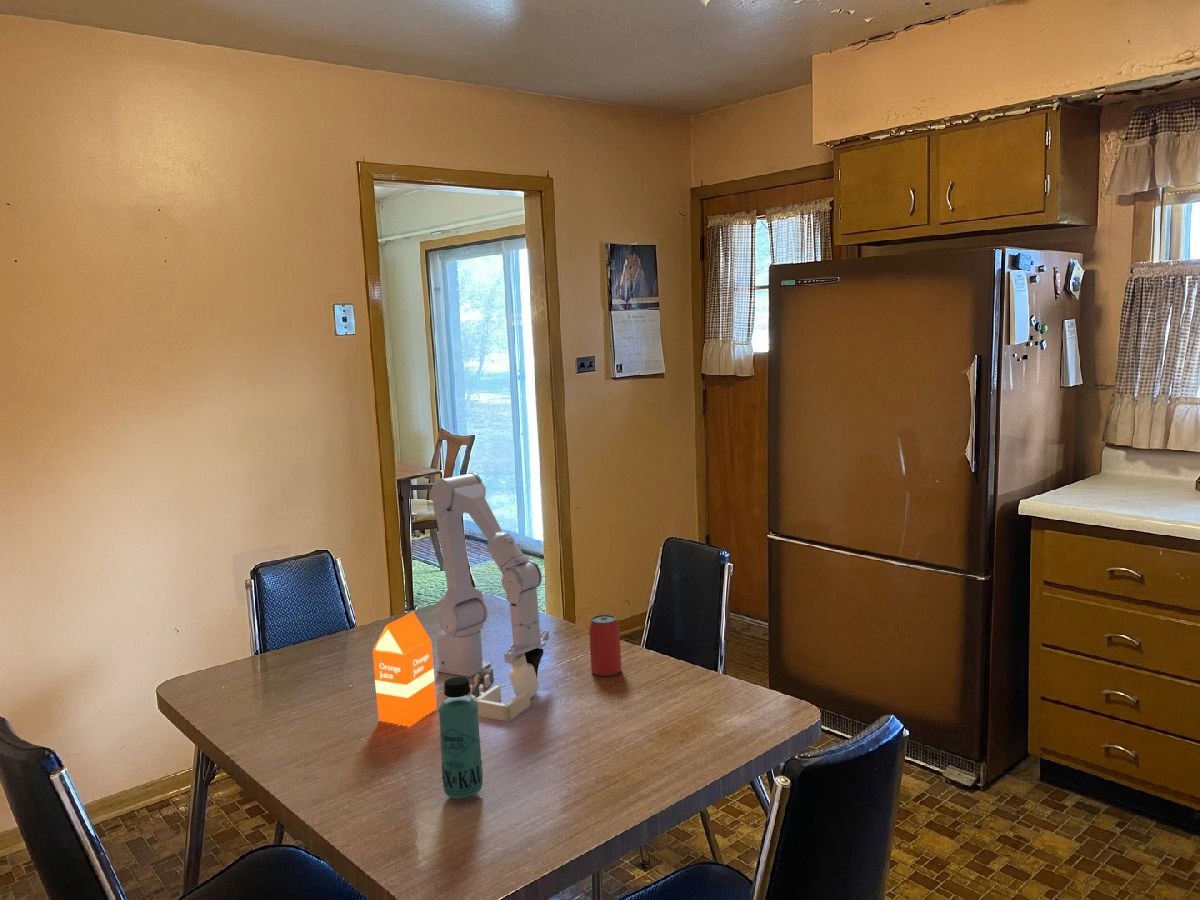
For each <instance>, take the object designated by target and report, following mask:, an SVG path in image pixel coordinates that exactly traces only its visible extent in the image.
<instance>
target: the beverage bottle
mask: <svg viewBox="0 0 1200 900" xmlns="http://www.w3.org/2000/svg"><path fill="white" fill-rule="evenodd" d="M470 685H471V684H470V680H469V677H467V676H461V675H456V676H453V677H449V678H447V679H445V680H444V685H443V686H444V689H443V691H444V693H443V694H444V696H445V697H447V698H446V699H445V700H443V701H442V702H441V703H440V705H439V706H438V715H439V732H440V733H439V739H440V747H439V749H440V755H441V756H440V757H441V758H440V760H441V774H442V775H441V776H442V778H441V781H442V785H443V791H444V794H446V795H447V796H448V797H450V798H453V799H465V798H470V797H472V796H474V795H476V794H478V793H479V792H480V791H481V790H482V787H483V783H484V780H483V779H484V775H483V774H484V773H483V766H482V764H483V761H482V751H481V750H482V748H481V739H480V726H479V716H478V704H477V702H476V701H475V700H473V699H472V698H470V697H469V696H468V695H469V693H470V691H471V690H470Z"/></svg>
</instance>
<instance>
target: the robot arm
mask: <svg viewBox="0 0 1200 900" xmlns="http://www.w3.org/2000/svg"><path fill="white" fill-rule="evenodd" d="M433 483H434V484H432V487H431V488H430V494H431V499H432V507H433V512H434V513H433V514H434V515H435V517H436V522H437V529H438V536H439V540H440V541H439V542H440V543H439V544H440V548H441V555H442V560H443V561H442V562H443V567H444V573H445V574H444V575H445V580H446V586H447V590H446V591H445V592H444V593H443V595H442V596H441V598H440V599H439V600H438V605H439V608H438V609H439V611H438V616H437V618H438V624H439V626H440V628H441V631H440V632H439V634H438V637H437V644H436V645H437V646H436V647H437V657H438V668H437V669H436V672H438V673H446V674H449V673H450V675H456V676H462V677H466V678H472V677H475V675H476V674H478V672H479V670H480V669H481V668H489V667H490V666H491V665H492V663H491V662H489V661H486V660H485V661H484V660H483V659H484V658H483V647H482V635H481V634H482V633H481V632H482V631H481V630H482V629H484V624H485V622H486V621H487V619H488V607H487V604H486V603H485V600H484V597H483V593H482V591H481V590H480V589H478V588H475V587H474V586H473V584H472V578H471V577H472V576H471V571H470V566H469V559H468V552H467V546H466V539H465V533H464V526H463V521H462V517H463V516H464V514H465V513H466V514H468V515H469V516H470V517H471V518H470V519H472V520H473V522H474V523H475V525H476V526H477V527H478V528H479V530H480V531H481V532H482V534H483V535H484V536H485V538H486V539H487V548H486V549H487V551H488V552H489V555H490V556H491V558H492V559H493V561H494V563H495V564H496V566H497V567H498V569H499V571H500V572H501V574H502V578H501V582H500V583H501V585H502V587H503V590H504V592H505V594H506V599H507V602H508V603H509V608H510V609H509V610H510V621H511V632H512V642H511V644H510V646H509V648H508V649H507V651H506V652H504V653H503V655H504V662H505V663H506V664H511V663H515V662H516V661H515V658H516V657H517V655H520V654H523V653H524V654H525V657H526V660H527V663H530V664H532V665H533V667H534V670H535V673H536V677H537V678H538V672H539V667H540V666H539V665H540V663H541V660H542V657H543V655H544V649H543V648H544V647H546V645H547V644H546V641H549V640H550V631H549V630H547V629H541V626H540V616H539V615H540V613H539V604H538V603H539V602H538V590H537V588H539V587H540V586H541V583H542V580H543V579H542V577H543V576H542V571H541V569H540V567H539V565H538V564H537V563H536V561H534V560H532V559H531V558H529V557H528V556H525V554H524V553H523V551H522V550H521V549H520V547H519V545H518V544H517V543H516V542H517V541H515V539H514V537H513V536H512V534H511V533H509V532H504V531H503V530H502V527H501V526H500V524H499V522H498V521H497V518H496V516H495V515H494V513H493V510H492V509H491V506H490V505H489V502H488V501H487V498H486V492H487V491H486V486H485V484H484V483H483V481H482V478H481V477H480V475H478V474H477V473H476V472H469V473H466V474H460V475H454V476H450V477H445V478H444V477H443V478H442V477H441V478H438V479H436V480H435V482H433Z"/></svg>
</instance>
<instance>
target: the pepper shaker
mask: <svg viewBox="0 0 1200 900" xmlns="http://www.w3.org/2000/svg"><path fill="white" fill-rule="evenodd" d="M515 661H516V662H515V663H510V666H511V669H510V670H509V671H508V673H509V674H508V676H509V678H510V679H509V680H510V682H511V685H512V689H513V691H514V695H515V697H516V696H518V695H519V694H521V693H522V692H523V691H525V690H527V691H529V692H530V699H532V698H533V696H534V695H535V694H536V693H537V692H538V690H540V689H539V688H540V684H539V681H538V676H537V677H536V673H535V670H534V667H533V665H532V664H530V663H527V660H526V657H525V654H524V653H523V654H520V655H517V657H516V658H515Z"/></svg>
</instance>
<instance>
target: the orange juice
mask: <svg viewBox="0 0 1200 900" xmlns="http://www.w3.org/2000/svg"><path fill="white" fill-rule="evenodd" d="M424 628H425V627H423V625H422V623H421V622H420V620H419V619H418V617H417V616H416V613H415V612H414V611H411V612H410V613H408V614H405V615H403V616H402V617H400V618H398V619H396V620H394V621H392V622H389V623H388V624H386V625H385V627H384V628H383V631H382V632H381V634H380V636H379V638H378V640H377V642H376V643H375V645H374V647H373V650H372V656H373V658H372V659H373V669H374V670H373V671H374V685H375V694H376V704H377V705H376V706H377V715H378V717H377V718H378V722H379V721H383V722H388V723H387V724H389V723H393V724H392V725H394V724H398V725H397V726H400V725H403V726H402V727H405V726H408V727H407V728H411V727H413V726H414V725H415V724H417V723H418V722H419V720H420V719H421V720H423V719H424V718H425V716H426V715H427V716H429V713H430V714H431V713H432V711H433V712H434V711H436V710H437V702H436V699H437V698H436V687H435V686H436V685H435V670H434V659H433V658H434V657H433V647H432V646H433V645H432V639H431V638H430V636H429V635H428V634H427V633H428V632H427V631H426V629H424ZM435 709H436V710H435ZM423 717H424V718H423ZM422 718H423V719H422ZM421 720H420V721H421ZM417 721H418V722H417ZM383 722H382V723H383ZM416 722H417V723H416ZM414 723H415V724H414ZM413 724H414V725H413ZM412 725H413V726H412ZM410 726H411V727H410Z"/></svg>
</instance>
